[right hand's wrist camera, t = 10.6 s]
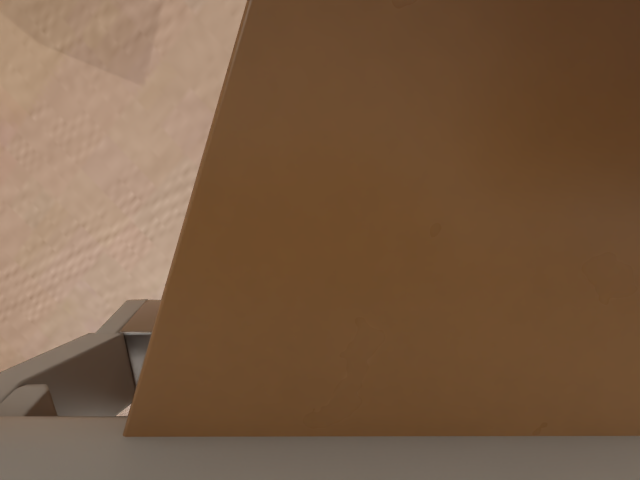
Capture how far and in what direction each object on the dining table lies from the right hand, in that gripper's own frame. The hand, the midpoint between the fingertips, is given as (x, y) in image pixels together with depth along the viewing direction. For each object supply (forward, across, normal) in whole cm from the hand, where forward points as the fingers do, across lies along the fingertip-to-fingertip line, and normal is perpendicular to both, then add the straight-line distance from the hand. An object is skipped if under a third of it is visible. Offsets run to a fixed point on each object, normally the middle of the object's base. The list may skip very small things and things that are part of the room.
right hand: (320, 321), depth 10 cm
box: (+4, -3, -7) cm, 8 cm away
